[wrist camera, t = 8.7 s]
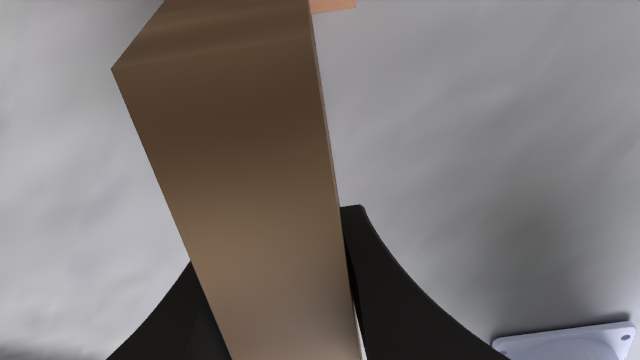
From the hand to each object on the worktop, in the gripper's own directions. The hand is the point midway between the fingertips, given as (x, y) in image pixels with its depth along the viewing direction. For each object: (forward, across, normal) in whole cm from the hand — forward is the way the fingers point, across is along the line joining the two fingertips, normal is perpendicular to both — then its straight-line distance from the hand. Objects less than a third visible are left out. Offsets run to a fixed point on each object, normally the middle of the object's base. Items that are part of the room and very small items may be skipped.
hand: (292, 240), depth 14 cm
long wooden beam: (+2, 0, 0) cm, 2 cm away
